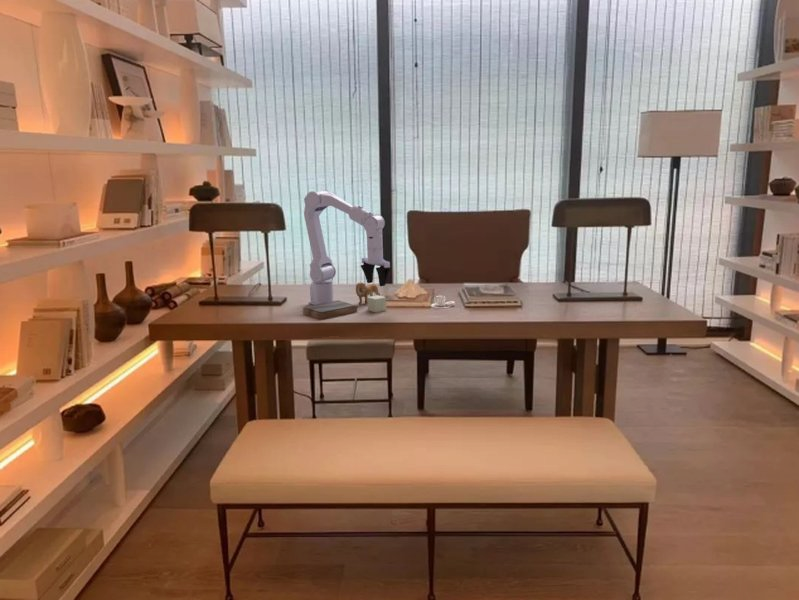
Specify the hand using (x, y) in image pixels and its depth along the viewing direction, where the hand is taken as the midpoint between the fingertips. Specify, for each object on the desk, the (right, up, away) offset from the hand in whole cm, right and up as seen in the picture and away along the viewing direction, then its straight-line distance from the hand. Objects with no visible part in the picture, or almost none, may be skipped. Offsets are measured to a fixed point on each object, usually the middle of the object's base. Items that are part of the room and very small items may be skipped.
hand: (376, 284), depth 235 cm
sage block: (0, -10, +2) cm, 10 cm away
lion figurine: (-4, -7, +15) cm, 17 cm away
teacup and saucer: (+26, -9, +4) cm, 28 cm away
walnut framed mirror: (-17, -11, 0) cm, 20 cm away
